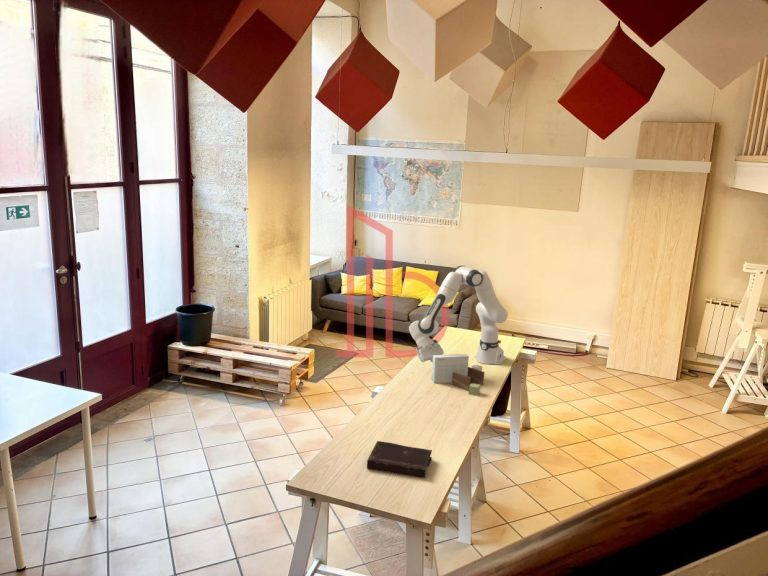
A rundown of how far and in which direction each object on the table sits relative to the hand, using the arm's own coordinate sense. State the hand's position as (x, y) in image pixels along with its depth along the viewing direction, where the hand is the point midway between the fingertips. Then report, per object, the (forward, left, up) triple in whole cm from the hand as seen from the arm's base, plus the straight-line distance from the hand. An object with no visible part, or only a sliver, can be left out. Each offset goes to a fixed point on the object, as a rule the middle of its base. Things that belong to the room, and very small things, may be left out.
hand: (437, 364), depth 366 cm
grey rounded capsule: (-12, +21, -7) cm, 25 cm away
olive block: (+8, +33, -7) cm, 34 cm away
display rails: (0, +23, -7) cm, 24 cm away
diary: (+98, +56, -7) cm, 113 cm away
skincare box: (+3, +12, -7) cm, 14 cm away
